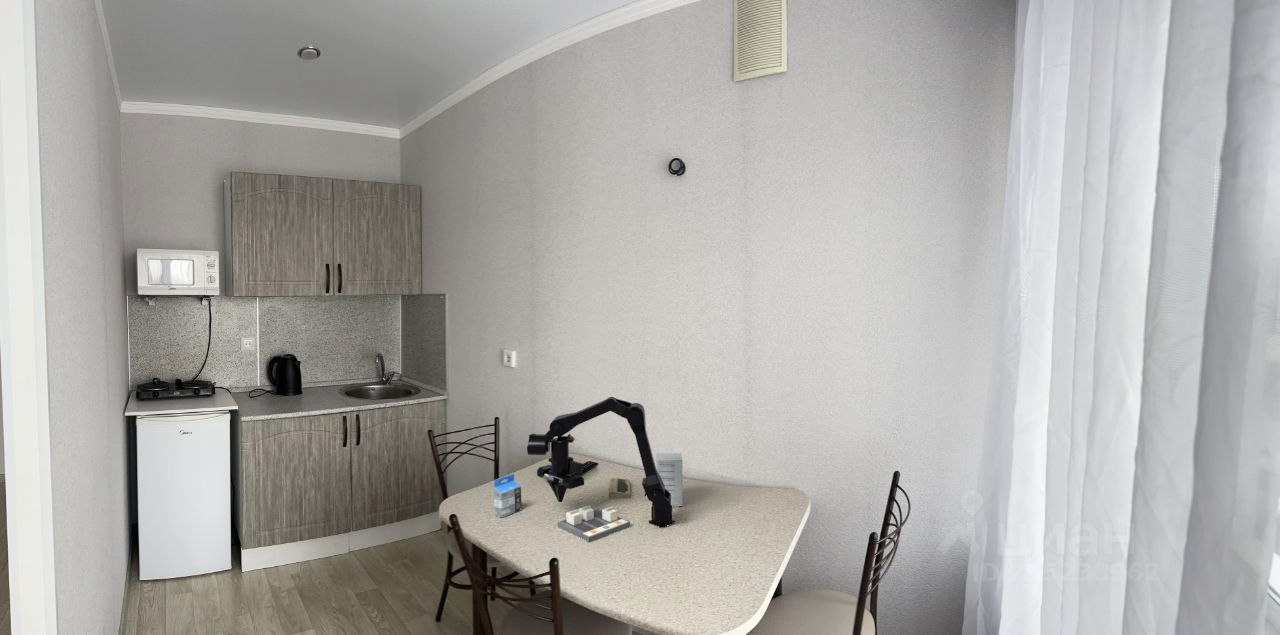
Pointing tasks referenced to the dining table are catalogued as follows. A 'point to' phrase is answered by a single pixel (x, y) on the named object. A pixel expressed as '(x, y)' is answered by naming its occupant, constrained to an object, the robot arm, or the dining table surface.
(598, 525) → the switch panel
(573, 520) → the slider
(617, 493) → the computer
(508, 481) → the label tape box
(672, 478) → the small drawer cabinet
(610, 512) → the slider
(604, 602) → the dining table surface
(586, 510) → the slider middle
